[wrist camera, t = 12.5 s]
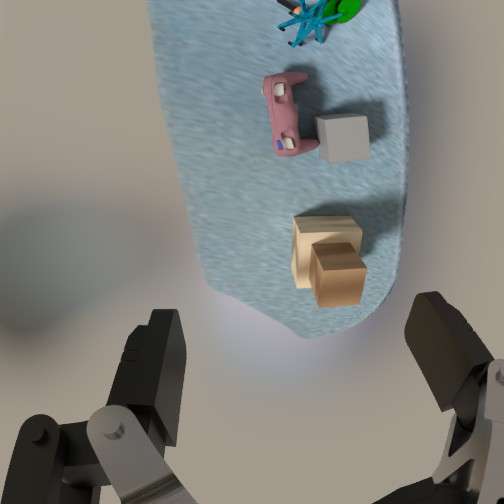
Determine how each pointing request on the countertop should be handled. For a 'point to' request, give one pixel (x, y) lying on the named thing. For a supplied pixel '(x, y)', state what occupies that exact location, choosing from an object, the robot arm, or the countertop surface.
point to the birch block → (319, 240)
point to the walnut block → (336, 274)
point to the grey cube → (342, 137)
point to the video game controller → (285, 114)
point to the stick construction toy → (318, 16)
